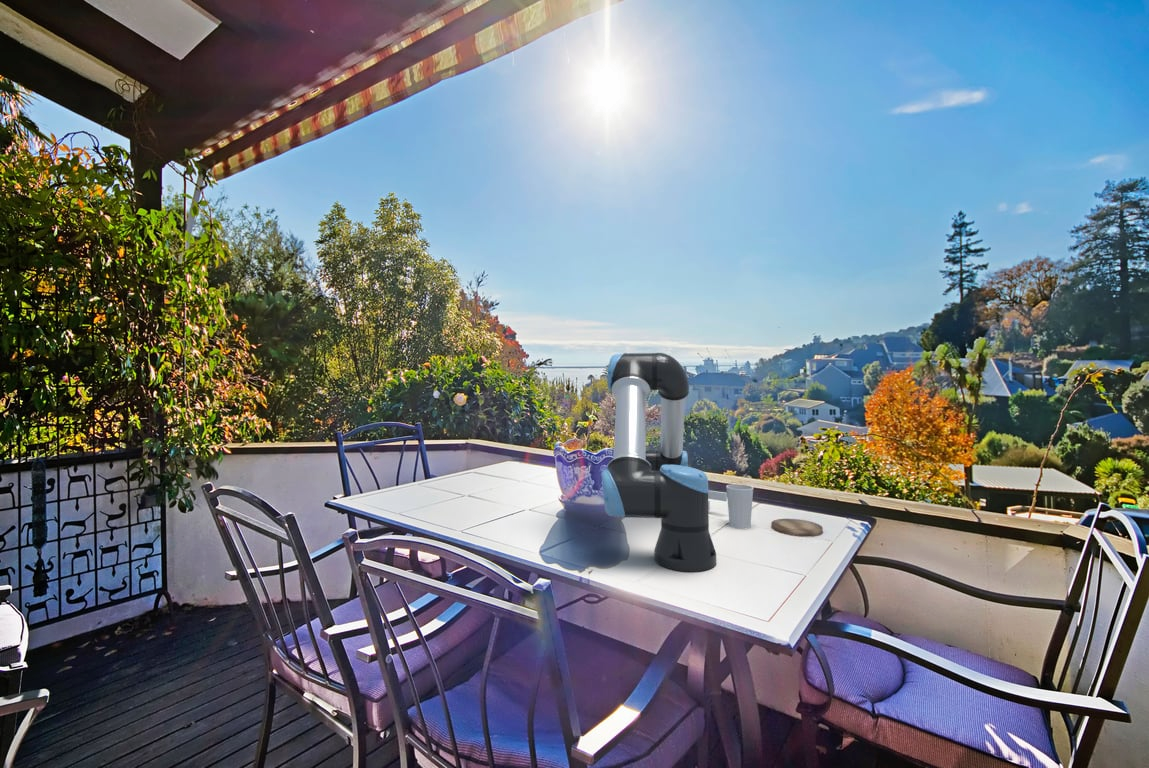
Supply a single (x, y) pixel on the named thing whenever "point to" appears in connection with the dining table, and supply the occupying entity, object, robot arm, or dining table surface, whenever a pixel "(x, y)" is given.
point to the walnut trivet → (797, 527)
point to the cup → (739, 505)
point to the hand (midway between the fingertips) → (718, 501)
